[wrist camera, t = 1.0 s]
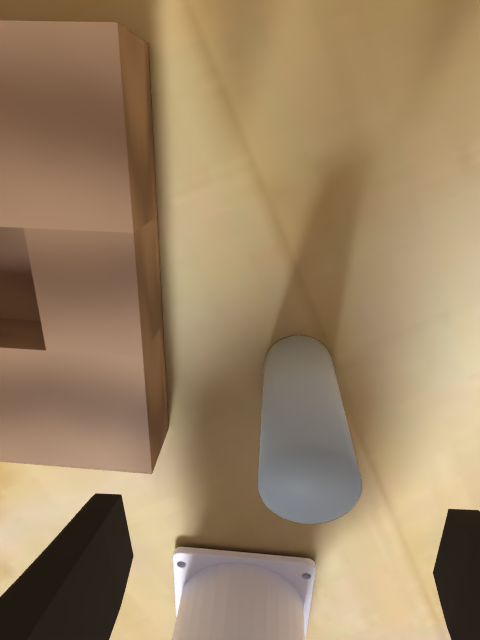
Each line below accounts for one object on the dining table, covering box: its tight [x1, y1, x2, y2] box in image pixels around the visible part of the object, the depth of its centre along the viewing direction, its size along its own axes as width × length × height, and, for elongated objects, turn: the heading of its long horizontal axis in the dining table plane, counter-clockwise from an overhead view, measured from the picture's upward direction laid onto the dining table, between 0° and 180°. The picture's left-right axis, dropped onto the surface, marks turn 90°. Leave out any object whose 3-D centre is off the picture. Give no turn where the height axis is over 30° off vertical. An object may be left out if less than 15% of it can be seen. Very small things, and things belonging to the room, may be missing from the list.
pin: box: [258, 335, 362, 524], centre depth 15 cm, size 3×3×7 cm
